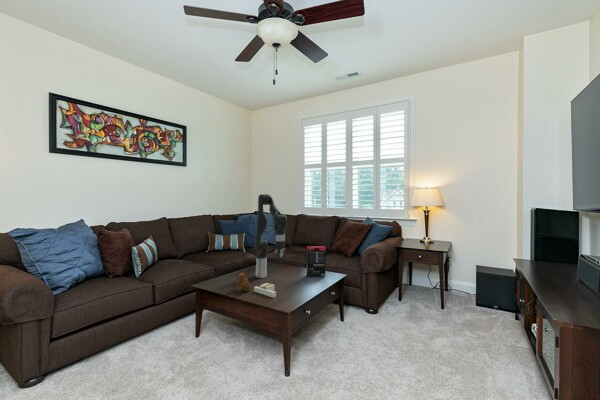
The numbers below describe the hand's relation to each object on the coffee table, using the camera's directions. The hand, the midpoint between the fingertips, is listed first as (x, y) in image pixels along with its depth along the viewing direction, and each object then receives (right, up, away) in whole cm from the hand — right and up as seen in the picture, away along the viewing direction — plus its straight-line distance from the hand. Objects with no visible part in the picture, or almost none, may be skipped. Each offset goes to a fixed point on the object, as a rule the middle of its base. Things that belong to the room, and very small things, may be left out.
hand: (280, 261), depth 223 cm
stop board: (-11, -22, -13) cm, 27 cm away
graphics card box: (+31, -21, +33) cm, 49 cm away
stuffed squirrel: (-28, -22, -5) cm, 36 cm away
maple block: (-9, -22, -8) cm, 25 cm away
